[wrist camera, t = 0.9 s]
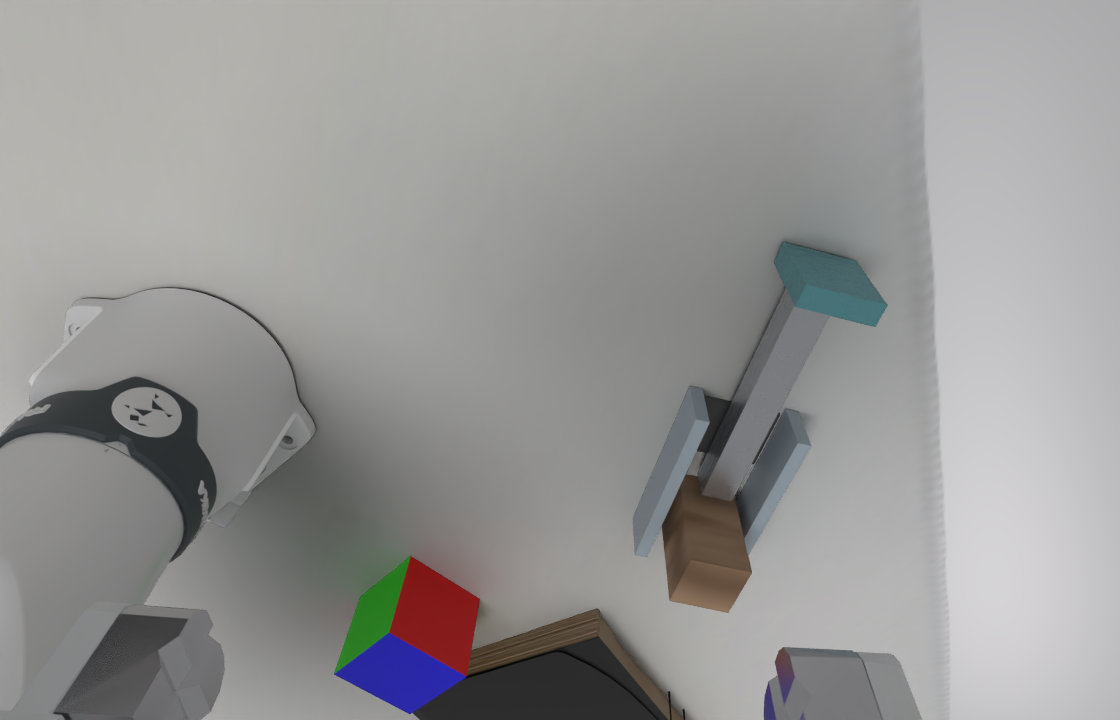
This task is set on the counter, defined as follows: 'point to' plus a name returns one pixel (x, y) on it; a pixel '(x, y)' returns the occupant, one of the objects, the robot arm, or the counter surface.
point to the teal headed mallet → (785, 356)
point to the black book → (553, 679)
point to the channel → (697, 434)
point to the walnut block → (704, 549)
